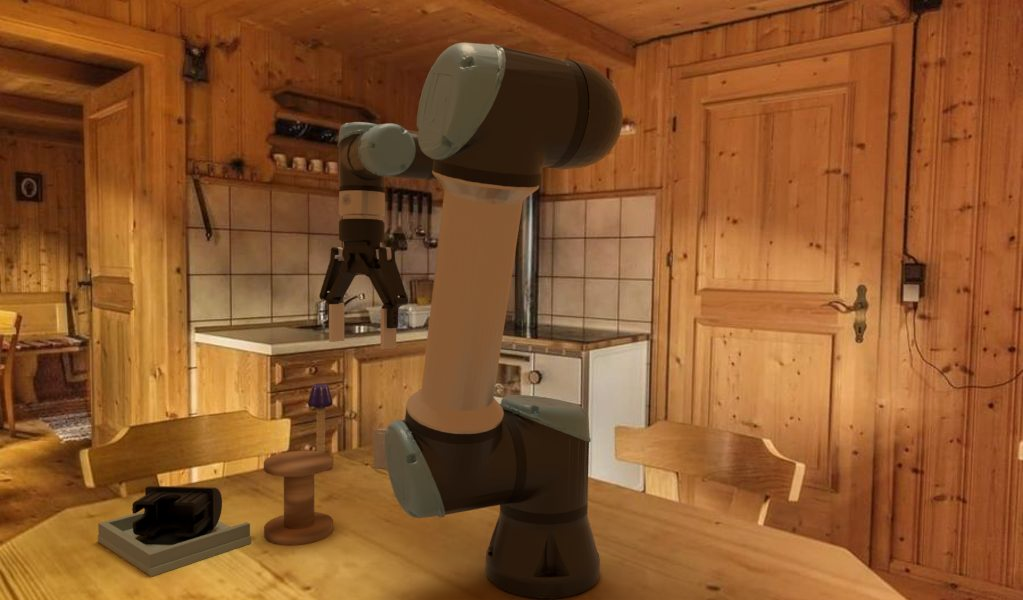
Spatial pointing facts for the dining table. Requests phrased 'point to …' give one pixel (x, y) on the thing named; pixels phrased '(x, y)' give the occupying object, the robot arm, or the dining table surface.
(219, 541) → the olive grey tray
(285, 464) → the bobbin spool
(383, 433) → the cassette
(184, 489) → the end cap
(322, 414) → the toy lamp
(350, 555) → the dining table surface
